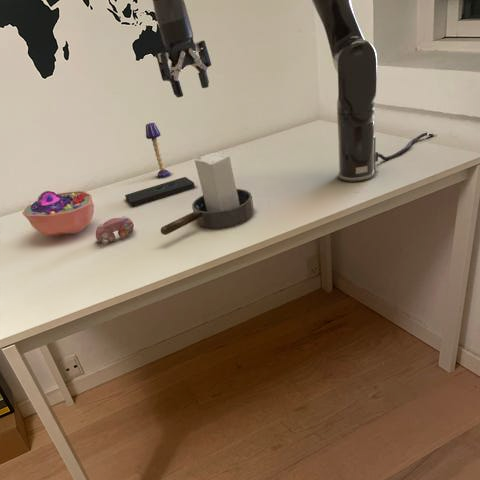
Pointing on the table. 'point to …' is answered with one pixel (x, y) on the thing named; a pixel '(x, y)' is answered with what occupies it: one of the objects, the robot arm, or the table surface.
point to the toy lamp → (156, 147)
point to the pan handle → (180, 222)
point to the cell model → (60, 212)
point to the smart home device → (159, 191)
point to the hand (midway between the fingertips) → (193, 92)
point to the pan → (225, 212)
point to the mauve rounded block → (114, 229)
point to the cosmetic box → (217, 182)
